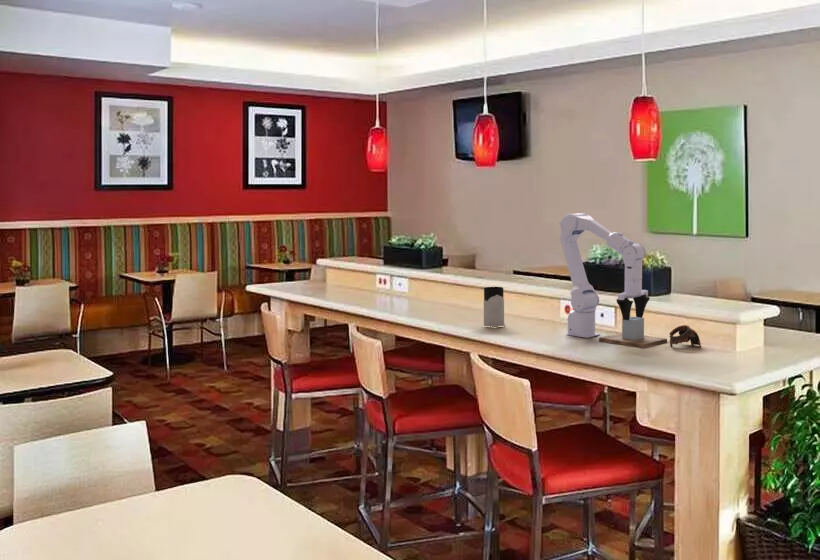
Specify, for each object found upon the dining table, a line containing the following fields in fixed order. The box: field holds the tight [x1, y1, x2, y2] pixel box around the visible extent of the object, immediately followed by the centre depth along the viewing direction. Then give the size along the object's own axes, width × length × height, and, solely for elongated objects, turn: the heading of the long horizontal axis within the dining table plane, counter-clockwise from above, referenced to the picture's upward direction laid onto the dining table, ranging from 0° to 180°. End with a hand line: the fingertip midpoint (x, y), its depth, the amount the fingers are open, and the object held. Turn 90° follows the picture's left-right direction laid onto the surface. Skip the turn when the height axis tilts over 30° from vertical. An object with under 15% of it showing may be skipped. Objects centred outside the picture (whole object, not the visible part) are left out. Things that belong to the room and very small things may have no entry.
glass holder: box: [482, 286, 506, 327], centre depth 336 cm, size 9×14×15 cm, turn 14°
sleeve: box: [621, 315, 645, 340], centre depth 297 cm, size 5×5×7 cm
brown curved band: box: [669, 324, 702, 349], centre depth 287 cm, size 12×10×8 cm
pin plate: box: [598, 332, 668, 349], centre depth 297 cm, size 18×14×5 cm
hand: (632, 318), depth 297 cm, fingers open, 7 cm apart
